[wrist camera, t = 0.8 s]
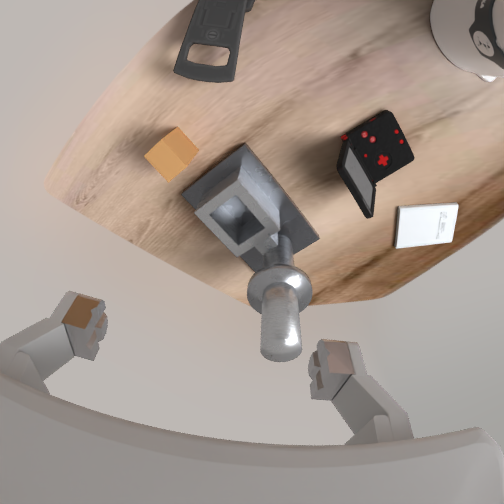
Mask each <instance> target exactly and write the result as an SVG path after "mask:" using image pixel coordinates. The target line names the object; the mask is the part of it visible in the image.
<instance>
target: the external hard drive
mask: <svg viewBox="0 0 504 504" xmlns="http://www.w3.org/2000/svg"><path fill="white" fill-rule="evenodd" d="M457 211H458V204H457V203H439V204H423V205H408V206H398V215H397V226H396V236H395V245H394V246H395V248H405V247H414V246H422V245H431V244H439V243H448V242H452V238H453V233H454V228H455V223H456V217H457Z"/></svg>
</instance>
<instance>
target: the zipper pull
mask: <svg viewBox="0 0 504 504" xmlns="http://www.w3.org/2000/svg"><path fill="white" fill-rule="evenodd" d="M254 2H255V0H199V1H198V3H197V6H196V8H195V11H194V14H193V16H192V19H191V21H190V24H189V27H188V30H187V32H186V35H185V38H184V41H183V43H182V46H181V49H180V52H179V55H178V58H177V61H176V64H175V67H174V70H173V71H174V73H176V74H179V75H181V76H183V77H186V78H189V79H193V80H198V81H204V82H215V83H221V82H232V81H233V80H234V76H235V70H236V64H237V58H238V51H239V44H240V38H241V32H242V27H243V21H244V15H245V12H249V11H251V9H252V7H253V4H254ZM193 44H202V45H210V46H217V47H224V48H228V49H229V51H230V55H229V59H228V63H227V65H225V66H212V65H205V64H197V63H193V62H191V61H188V60H187V56H188V52H189V48H190V47H191V46H192V45H193Z"/></svg>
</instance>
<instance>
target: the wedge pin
mask: <svg viewBox="0 0 504 504" xmlns="http://www.w3.org/2000/svg"><path fill="white" fill-rule="evenodd" d="M198 151H199V150H198V148H197V147H196V146H195V145H194V144H193V143H192V142H191V141H190V140H189V138H188V137H187V136H186V135H185V134H184V133H183V132H182V131H181V130H180V129H179V127H177V128H175V129H174V130H173V131H171V132H170V133H169V134H168V135H166V136H165V137H164V138H162V139H161V140H160V141H159V142H158V143H157V144H156V145H155V146H154V147H153V148H152V149H151V150H150V151H149V152H148V153H147V154H145V155H144V157H145V158H146V159H147V160H148V161H149V162H150V163H151V165H152V166H153V167H154V168H155V169H156V170H157V171H158V172H159V173H160V174H161V175H162V176H163V177H164V178H165V179H166V180H167V182H168V183H169V182H170V181H171V180H172V179H173V178H174V177H175V176H177V175H178V174H179V173H180V172H181V171H182V170H184V169H185V168H186V167H187V166H188V165H189V163H190V162H191V160H192V159H193V158H194V156H195V155H196V154H197V152H198Z"/></svg>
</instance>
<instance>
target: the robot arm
mask: <svg viewBox="0 0 504 504" xmlns="http://www.w3.org/2000/svg"><path fill="white" fill-rule="evenodd" d="M430 22H431V28H432V32H433V35H434V38H435V40H436V42H437V44H438V46H439V48H440V49H441V51H442V52H443V54H444V55H445V56H446V57H447V58H448V59H449V60H450V61H451V62H452V63H453V64H454V65H456V66H457V67H459V68H460V69H462V70H465V71H468V72H472V73H475V74H477V75H478V76H479V77H480V78H481V79H483V80H484V81H486V82H492V81H493V80H494V79H495V78H496V77H502V78H504V0H434V2H433V5H432V8H431V13H430ZM105 308H106V307H105V302H104V301H103V300H101V299H97V298H93V297H90V296H87V295H83V294H79V293H76V292H72V291H68V292H67V293H66V294H65V295H64V297H63V298H62V300H61V301H60V303H59V304H58V306H57V307H56V309H55V310H54V312H53V314H52V315H51V317H50V318H49V319H48V318H45V319H43V320H41V321H40V322H38V323H36V324H34V325H32V326H30V327H28V328H26V329H24V330H22V331H21V332H19V333H17V334H15V335H13V336H11V337H9V338H8V339H6V340H4V341H2V342H1V343H0V504H504V456H503V453H502V450H501V448H500V446H499V445H498V444H497V443H496V442H495V441H494V440H493V439H492V438H491V437H490V436H489V435H488V434H487V433H486V432H485V431H484V430H483V429H481V428H479V427H474V428H468V429H464V430H460V431H455V432H451V433H446V434H441V435H435V436H429V437H422V438H416V439H414V437H413V433H412V430H411V425H410V422H409V418H408V414H407V412H406V411H405V410H404V409H403V408H402V407H401V406H400V405H399V404H398V403H397V402H396V401H395V400H394V399H393V398H392V397H391V396H390V395H389V394H388V393H387V392H386V391H385V390H384V389H383V388H382V387H381V386H380V385H379V384H378V382H377V381H376V380H375V379H374V378H373V377H372V376H369V375H367V371H366V368H365V364H364V361H363V357H362V353H361V350H360V346H359V344H358V343H357V342H345V341H336V340H326V339H321V340H320V341H319V342H318V344H317V351H315V352H313V354H312V355H311V357H310V360H309V365H308V372H309V376H310V377H311V379H312V380H313V381H312V382H311V384H310V390H311V399H317V400H331V401H332V403H333V404H334V406H335V407H336V409H337V410H338V412H339V413H340V414H341V416H342V417H343V419H344V420H345V422H346V423H347V424H348V426H349V427H350V429H351V430H352V431H353V433H354V434H355V435H354V436H353V437H352V438H351V439H350V440H349V441H347V442H346V443H345V445H325V446H306V445H279V444H263V443H251V442H241V441H231V440H224V439H217V438H209V437H203V436H197V435H191V434H185V433H180V432H175V431H170V430H165V429H160V428H156V427H152V426H147V425H143V424H139V423H135V422H131V421H127V420H124V419H120V418H117V417H113V416H110V415H107V414H103V413H100V412H97V411H94V410H91V409H87V408H85V407H82V406H79V405H76V404H73V403H70V402H68V401H65V400H62V399H60V398H57V397H55V396H52V395H50V393H49V391H48V389H47V387H46V385H45V384H44V382H43V381H44V380H45V379H46V378H48V377H49V376H50V375H51V374H53V373H54V372H55V371H57V370H58V369H59V368H60V367H62V366H63V365H64V364H66V363H67V362H68V361H69V360H71V359H72V358H73V357H74V356H78V357H81V358H85V359H88V360H92V361H94V359H95V357H96V354H97V352H98V350H99V344H98V342H99V341H101V340H103V339H104V336H105V334H106V330H107V323H108V320H107V316H106V314H105V313H104V310H105Z"/></svg>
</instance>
